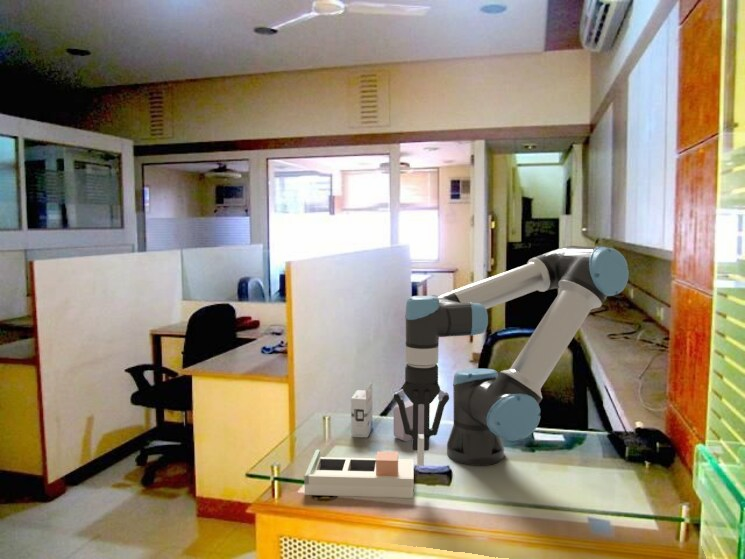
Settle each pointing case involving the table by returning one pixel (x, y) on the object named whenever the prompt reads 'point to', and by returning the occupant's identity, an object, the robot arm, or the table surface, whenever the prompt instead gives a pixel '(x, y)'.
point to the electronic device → (398, 424)
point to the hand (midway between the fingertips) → (420, 463)
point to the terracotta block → (387, 464)
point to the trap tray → (357, 478)
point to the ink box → (361, 412)
